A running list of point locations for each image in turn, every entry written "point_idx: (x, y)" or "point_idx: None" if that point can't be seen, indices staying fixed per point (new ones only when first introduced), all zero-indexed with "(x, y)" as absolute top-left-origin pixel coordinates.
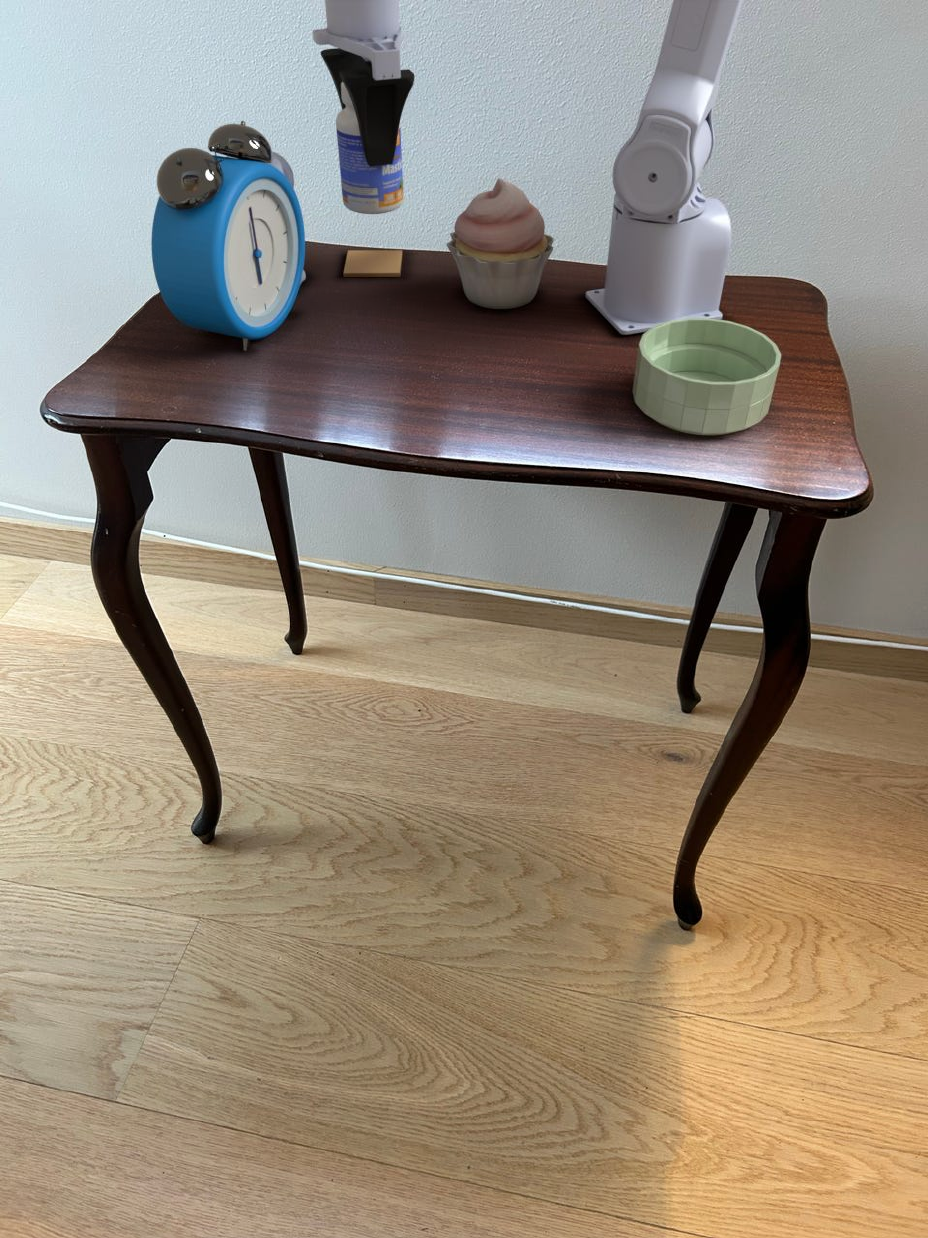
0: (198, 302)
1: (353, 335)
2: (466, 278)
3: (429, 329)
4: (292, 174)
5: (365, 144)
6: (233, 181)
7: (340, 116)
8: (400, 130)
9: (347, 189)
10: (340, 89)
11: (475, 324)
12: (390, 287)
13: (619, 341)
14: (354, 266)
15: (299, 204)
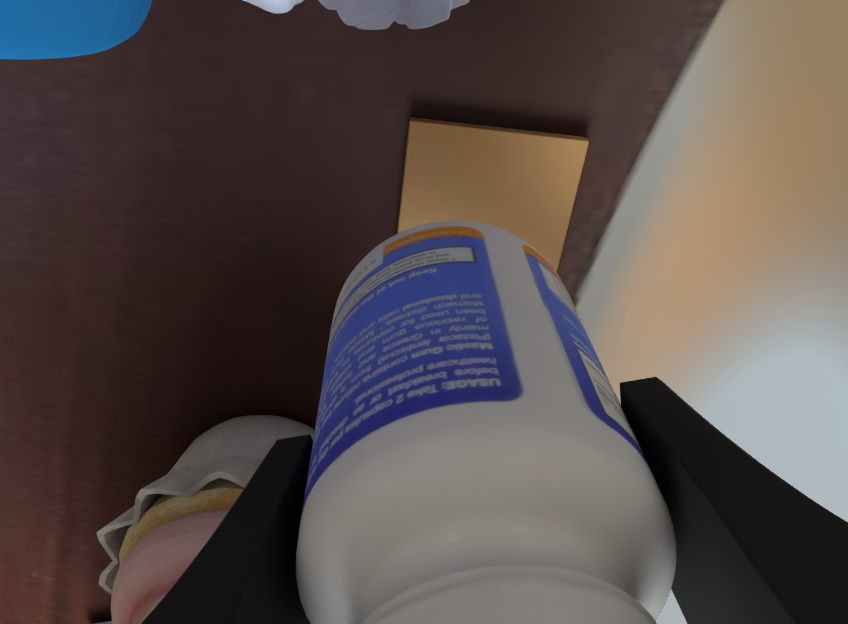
0: None
1: (5, 133)
2: (191, 455)
3: (74, 323)
4: (376, 27)
5: (229, 510)
6: None
7: (439, 482)
8: None
9: (376, 275)
10: (749, 576)
11: (115, 416)
12: (327, 248)
13: (72, 615)
14: (454, 157)
15: (24, 59)
